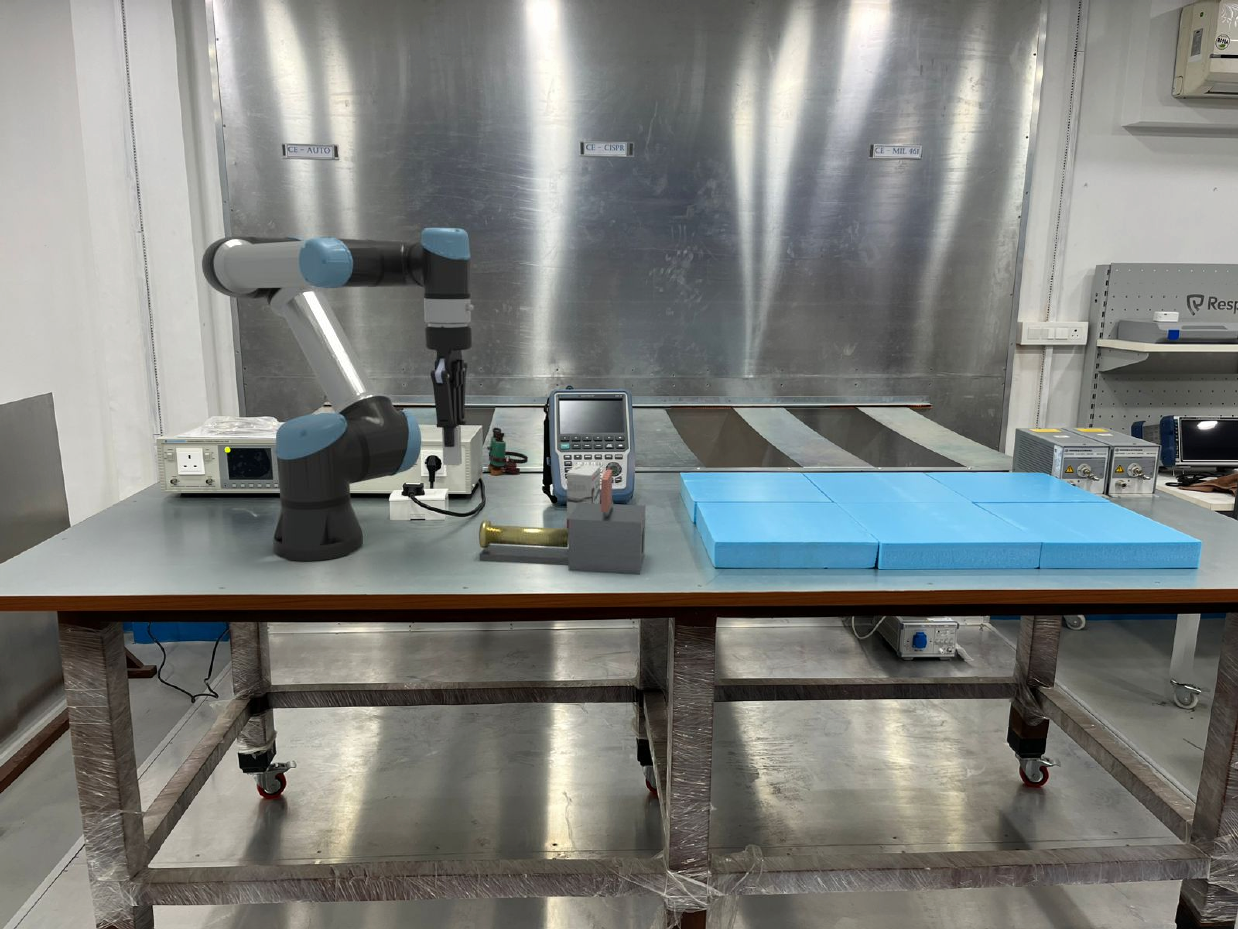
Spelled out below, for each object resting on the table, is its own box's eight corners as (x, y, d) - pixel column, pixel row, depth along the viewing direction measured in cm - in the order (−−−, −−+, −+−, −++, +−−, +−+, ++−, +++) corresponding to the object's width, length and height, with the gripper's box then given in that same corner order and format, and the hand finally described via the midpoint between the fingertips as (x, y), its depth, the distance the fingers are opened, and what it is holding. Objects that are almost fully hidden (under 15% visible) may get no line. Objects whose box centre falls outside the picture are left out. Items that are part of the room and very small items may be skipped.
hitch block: (475, 565, 143) (474, 514, 141) (490, 546, 153) (489, 498, 151) (639, 574, 140) (640, 522, 138) (644, 554, 150) (645, 505, 148)
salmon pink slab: (600, 517, 140) (601, 479, 139) (606, 505, 147) (606, 469, 145) (608, 517, 140) (609, 479, 139) (613, 506, 147) (613, 469, 145)
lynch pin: (479, 551, 145) (478, 525, 144) (486, 542, 150) (485, 516, 149) (565, 556, 144) (565, 529, 143) (569, 546, 148) (569, 520, 147)
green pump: (532, 435, 203) (491, 433, 200) (528, 477, 205) (487, 476, 202) (525, 428, 211) (485, 426, 208) (521, 469, 213) (482, 467, 210)
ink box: (590, 535, 160) (591, 474, 157) (565, 533, 161) (565, 473, 158) (600, 521, 168) (601, 464, 166) (576, 520, 169) (577, 463, 167)
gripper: (458, 328, 132) (462, 474, 138) (481, 322, 145) (484, 456, 151) (412, 327, 133) (418, 472, 138) (438, 321, 146) (443, 454, 151)
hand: (452, 463), depth 144 cm, fingers closed
